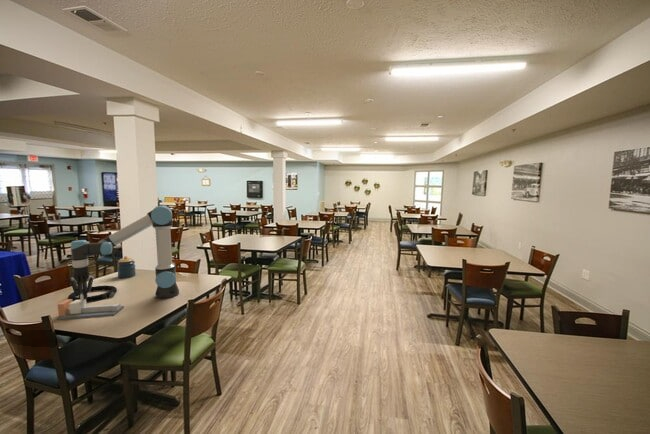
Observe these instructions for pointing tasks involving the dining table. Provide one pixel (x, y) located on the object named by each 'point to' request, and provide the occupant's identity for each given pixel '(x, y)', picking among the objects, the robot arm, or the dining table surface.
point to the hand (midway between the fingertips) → (83, 304)
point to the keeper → (75, 307)
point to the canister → (126, 267)
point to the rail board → (90, 314)
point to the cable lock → (97, 297)
